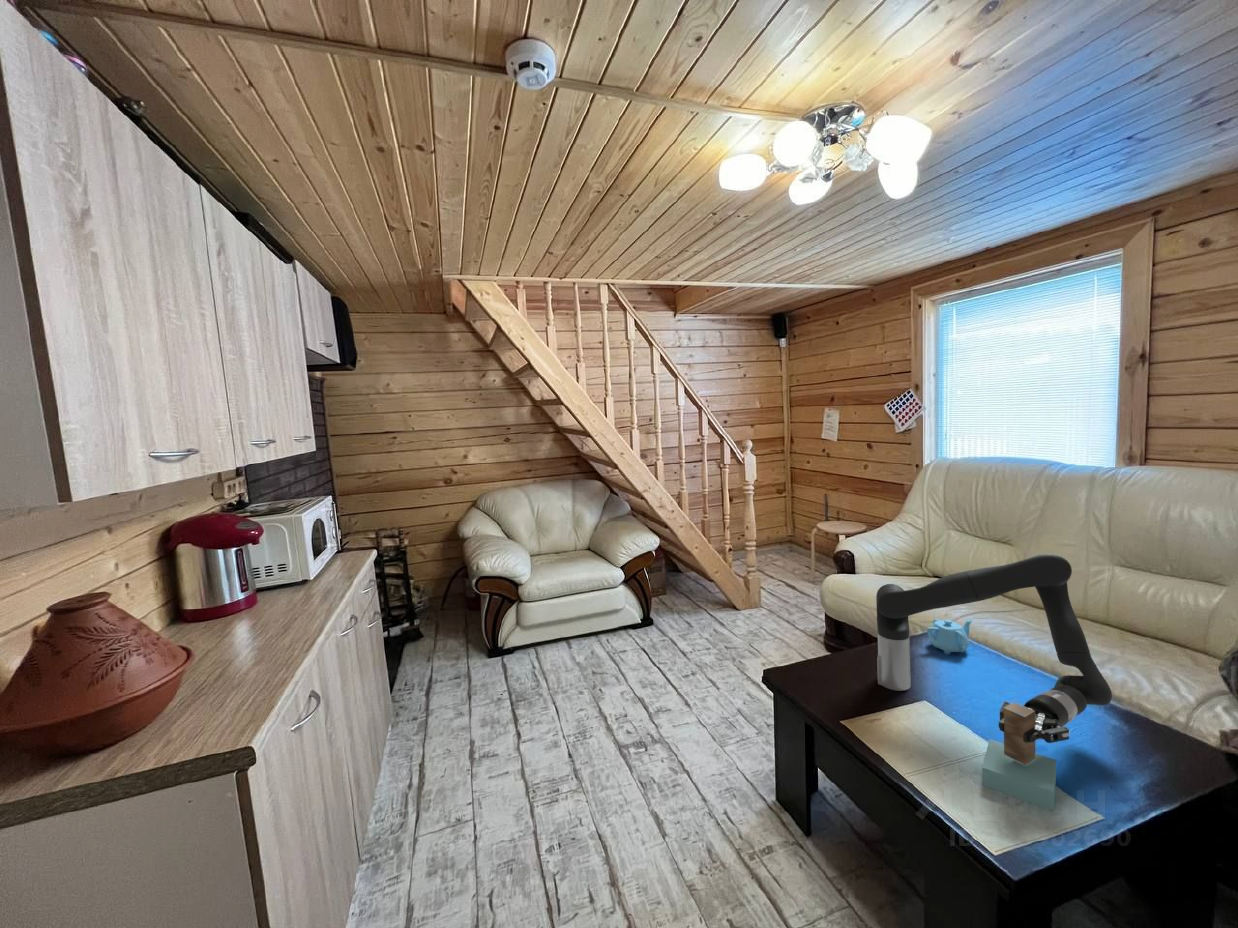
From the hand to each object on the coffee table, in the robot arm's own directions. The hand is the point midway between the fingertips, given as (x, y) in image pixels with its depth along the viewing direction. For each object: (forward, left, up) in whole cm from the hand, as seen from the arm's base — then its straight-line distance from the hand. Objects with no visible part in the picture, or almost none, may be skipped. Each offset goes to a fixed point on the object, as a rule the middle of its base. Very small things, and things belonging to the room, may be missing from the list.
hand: (1013, 732), depth 118 cm
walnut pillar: (+1, +2, -7) cm, 8 cm away
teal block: (+1, +2, -14) cm, 14 cm away
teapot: (-14, +71, -14) cm, 74 cm away
